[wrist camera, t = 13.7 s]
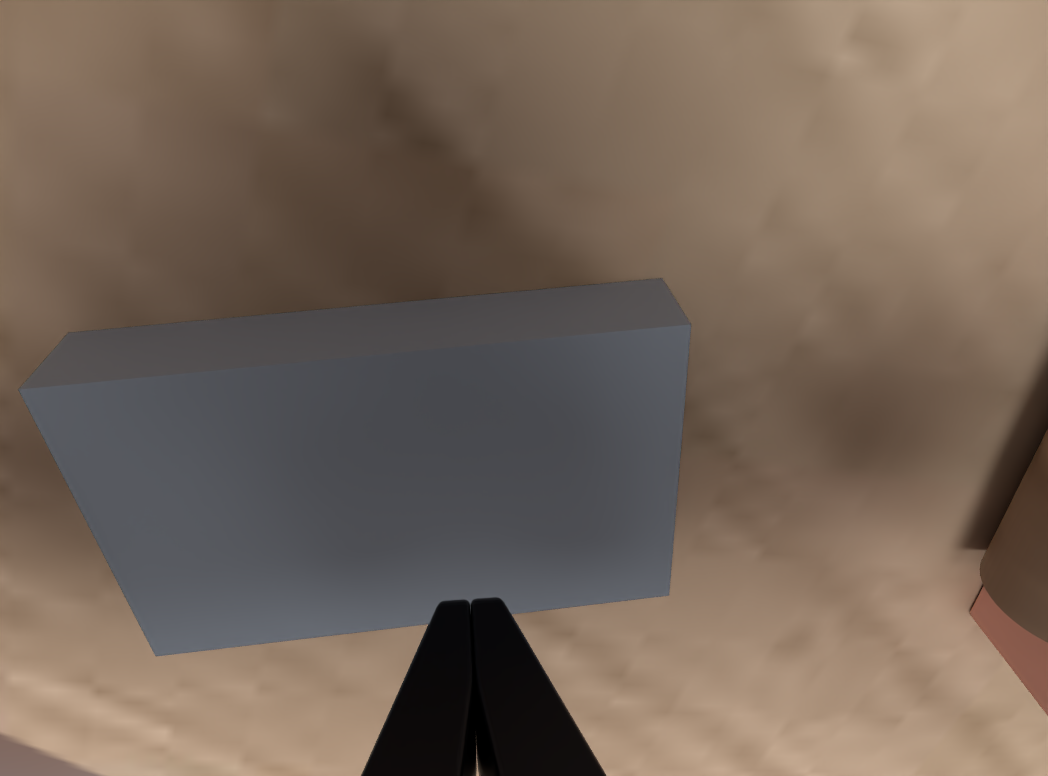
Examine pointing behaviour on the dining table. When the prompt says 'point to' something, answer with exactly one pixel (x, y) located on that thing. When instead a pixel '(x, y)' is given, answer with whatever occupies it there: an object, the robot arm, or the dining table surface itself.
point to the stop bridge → (1015, 646)
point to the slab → (375, 459)
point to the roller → (1023, 552)
